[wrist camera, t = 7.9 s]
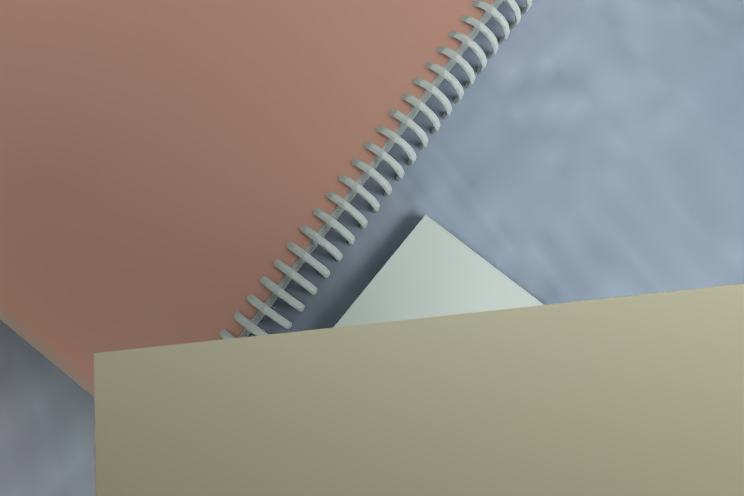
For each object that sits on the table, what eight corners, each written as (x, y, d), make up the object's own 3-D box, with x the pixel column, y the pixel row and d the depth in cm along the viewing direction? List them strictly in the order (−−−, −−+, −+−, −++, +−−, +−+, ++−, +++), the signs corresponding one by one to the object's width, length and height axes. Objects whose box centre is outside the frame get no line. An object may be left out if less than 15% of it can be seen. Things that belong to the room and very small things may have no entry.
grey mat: (698, 427, 21) (705, 428, 20) (486, 723, 20) (488, 732, 19) (425, 218, 23) (425, 214, 22) (215, 475, 21) (210, 477, 21)
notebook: (196, 461, 22) (175, 469, 20) (-141, 183, 25) (-189, 166, 23) (635, -125, 26) (653, -167, 24) (295, -311, 28) (286, -362, 26)
